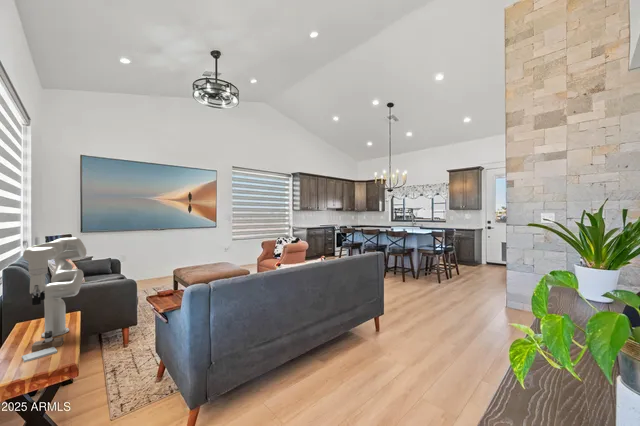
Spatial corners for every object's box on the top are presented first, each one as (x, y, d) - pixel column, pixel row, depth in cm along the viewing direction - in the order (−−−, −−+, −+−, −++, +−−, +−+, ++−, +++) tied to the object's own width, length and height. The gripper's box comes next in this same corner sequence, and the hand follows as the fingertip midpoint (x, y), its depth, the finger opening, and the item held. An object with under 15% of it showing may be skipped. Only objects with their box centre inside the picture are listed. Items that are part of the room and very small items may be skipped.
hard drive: (53, 346, 158) (21, 355, 148) (57, 350, 153) (24, 360, 143) (53, 349, 158) (21, 358, 148) (57, 353, 153) (24, 363, 143)
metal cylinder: (45, 345, 161) (45, 331, 161) (53, 344, 163) (53, 330, 163) (43, 348, 158) (43, 333, 158) (51, 346, 160) (51, 332, 160)
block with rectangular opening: (35, 346, 160) (35, 341, 160) (63, 341, 166) (63, 336, 166) (31, 351, 155) (31, 345, 155) (61, 345, 161) (61, 340, 161)
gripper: (32, 269, 162) (33, 299, 162) (24, 275, 148) (24, 307, 148) (50, 268, 167) (51, 297, 167) (44, 273, 152) (44, 305, 153)
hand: (38, 302), depth 158 cm, fingers open, 9 cm apart
